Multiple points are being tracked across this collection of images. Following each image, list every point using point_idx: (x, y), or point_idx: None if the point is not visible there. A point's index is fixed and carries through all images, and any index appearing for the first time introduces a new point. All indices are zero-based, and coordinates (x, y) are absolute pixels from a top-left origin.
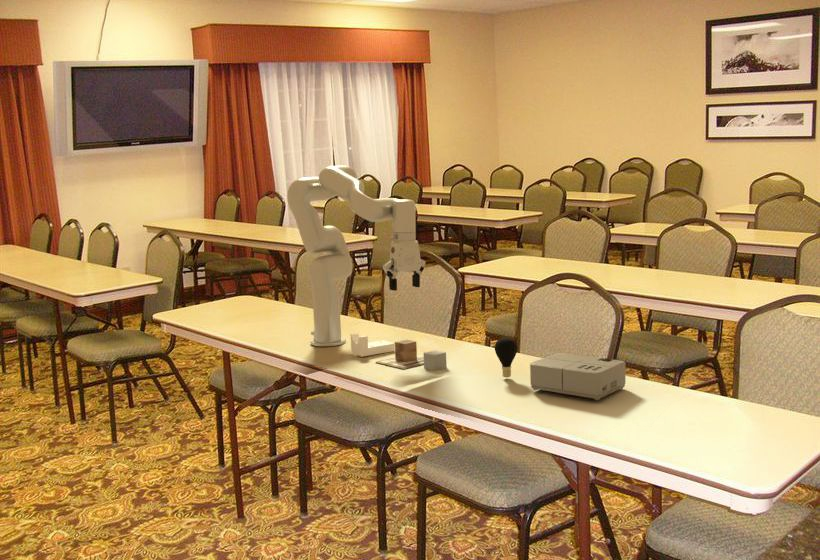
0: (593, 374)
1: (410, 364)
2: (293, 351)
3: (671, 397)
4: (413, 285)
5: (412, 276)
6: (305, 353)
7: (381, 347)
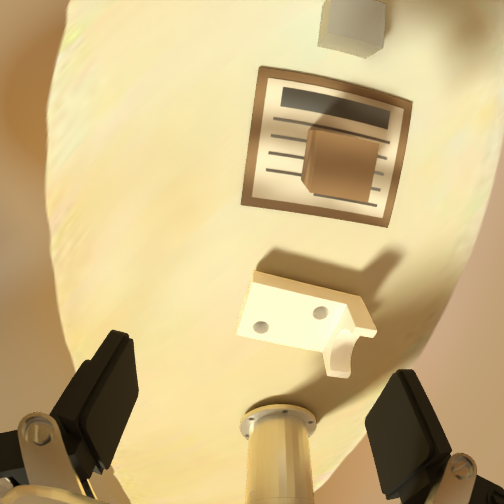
0: None
1: (370, 108)
2: (351, 425)
3: None
4: (135, 388)
5: (111, 460)
6: (359, 406)
7: (300, 290)
